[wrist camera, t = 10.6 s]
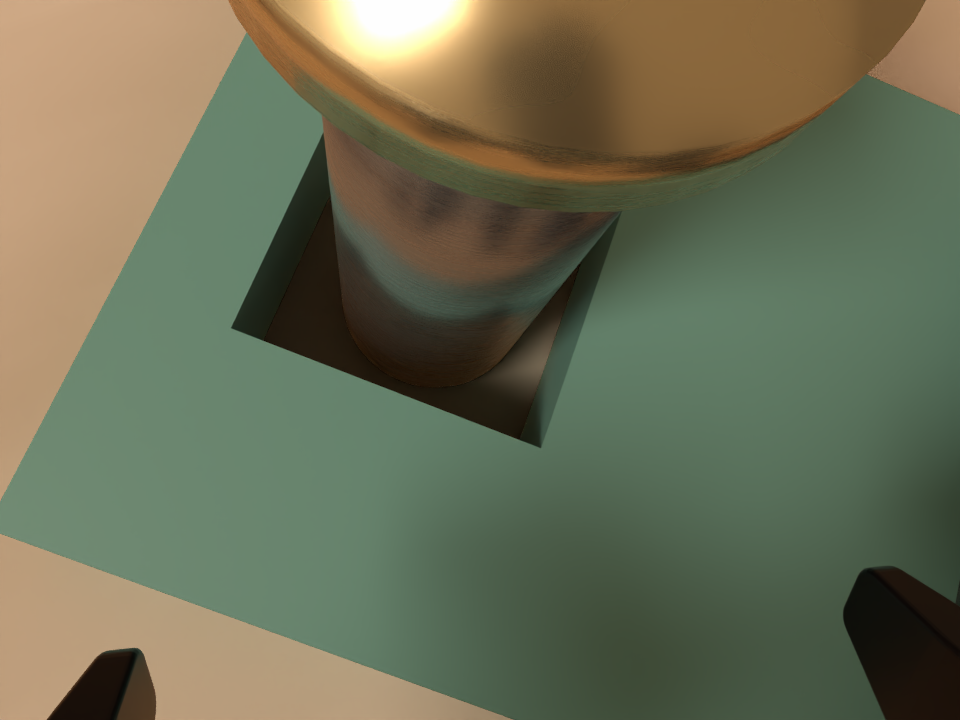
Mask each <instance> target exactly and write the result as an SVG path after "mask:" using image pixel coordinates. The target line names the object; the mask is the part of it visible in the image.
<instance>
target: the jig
mask: <svg viewBox="0 0 960 720" xmlns="http://www.w3.org/2000/svg"><path fill="white" fill-rule="evenodd" d="M329 196H330V185H329V176H328V167H327V158H326V149H325V140H324V130H323V121H322V115H321V114H320V113H319V112H318V111H317V110H315V109H314V108H313V107H312V106H311V105H310V104H308V103H307V102H306V101H305V100H304V99H303V98H301V97H300V96H299V95H298V94H297V93H296V92H295V91H294V90H293V89H292V88H291V86H290V85H289V84H288V83H287V82H286V81H285V80H284V79H283V78H282V76H281V75H280V74H279V73H278V72H277V71H276V70H275V69H274V68H273V67H272V65H271V64H270V63H269V62H268V61H267V60H266V59H265V58H264V56H263V55H262V54H261V52H260V51H259V49H258V48H257V46H256V45H255V43H254V42H253V40H252V39H251V37H250V36H249V35H248V33H246V35H245V37H244V39H243V41H242V42H241V44H240V46H239V48H238V50H237V52H236V54H235V56H234V58H233V60H232V61H231V63H230V65H229V67H228V69H227V71H226V73H225V75H224V77H223V79H222V81H221V82H220V84H219V86H218V88H217V90H216V92H215V94H214V96H213V98H212V100H211V101H210V103H209V105H208V107H207V109H206V111H205V113H204V115H203V117H202V119H201V120H200V122H199V124H198V126H197V128H196V130H195V132H194V134H193V136H192V138H191V139H190V141H189V143H188V145H187V147H186V149H185V151H184V153H183V155H182V157H181V159H180V160H179V162H178V164H177V166H176V168H175V170H174V172H173V174H172V176H171V178H170V179H169V181H168V183H167V185H166V187H165V189H164V191H163V193H162V195H161V197H160V198H159V200H158V202H157V204H156V206H155V208H154V210H153V212H152V214H151V216H150V218H149V219H148V221H147V223H146V225H145V227H144V229H143V231H142V233H141V235H140V237H139V238H138V240H137V242H136V244H135V246H134V248H133V250H132V252H131V254H130V256H129V257H128V259H127V261H126V263H125V265H124V267H123V269H122V271H121V273H120V275H119V276H118V278H117V280H116V282H115V284H114V286H113V288H112V290H111V292H110V294H109V296H108V297H107V299H106V301H105V303H104V305H103V307H102V309H101V311H100V313H99V315H98V316H97V318H96V320H95V322H94V324H93V326H92V328H91V330H90V332H89V334H88V335H87V337H86V339H85V341H84V343H83V345H82V347H81V349H80V351H79V353H78V355H77V356H76V358H75V360H74V362H73V364H72V366H71V368H70V370H69V372H68V374H67V375H66V377H65V379H64V381H63V383H62V385H61V387H60V389H59V391H58V393H57V394H56V396H55V398H54V400H53V402H52V404H51V406H50V408H49V410H48V412H47V413H46V415H45V417H44V419H43V421H42V423H41V425H40V427H39V429H38V431H37V433H36V434H35V436H34V438H33V440H32V442H31V444H30V446H29V448H28V450H27V452H26V453H25V455H24V457H23V459H22V461H21V463H20V465H19V467H18V469H17V471H16V472H15V474H14V476H13V478H12V480H11V482H10V484H9V486H8V488H7V490H6V492H5V493H4V495H3V497H2V499H1V501H0V534H2V535H5V536H8V537H11V538H14V539H16V540H19V541H22V542H25V543H27V544H30V545H33V546H36V547H38V548H41V549H44V550H47V551H49V552H52V553H55V554H58V555H60V556H63V557H66V558H69V559H72V560H74V561H77V562H80V563H83V564H85V565H88V566H91V567H94V568H96V569H99V570H102V571H105V572H107V573H110V574H113V575H116V576H119V577H121V578H124V579H127V580H130V581H132V582H135V583H138V584H141V585H143V586H146V587H149V588H152V589H154V590H157V591H160V592H163V593H165V594H168V595H171V596H174V597H177V598H179V599H182V600H185V601H188V602H190V603H193V604H196V605H199V606H201V607H204V608H207V609H210V610H212V611H215V612H218V613H221V614H223V615H226V616H229V617H232V618H235V619H237V620H240V621H243V622H246V623H248V624H251V625H254V626H257V627H259V628H262V629H265V630H268V631H270V632H273V633H276V634H279V635H282V636H284V637H287V638H290V639H293V640H295V641H298V642H301V643H304V644H306V645H309V646H312V647H315V648H317V649H320V650H323V651H326V652H328V653H331V654H334V655H337V656H340V657H342V658H345V659H348V660H351V661H353V662H356V663H359V664H362V665H364V666H367V667H370V668H373V669H375V670H378V671H381V672H384V673H387V674H389V675H392V676H395V677H398V678H400V679H403V680H406V681H409V682H411V683H414V684H417V685H420V686H422V687H425V688H428V689H431V690H433V691H436V692H439V693H442V694H445V695H447V696H450V697H453V698H456V699H458V700H461V701H464V702H467V703H469V704H472V705H475V706H478V707H480V708H483V709H486V710H489V711H492V712H494V713H497V714H500V715H503V716H505V717H508V718H511V719H514V720H885V718H884V715H883V713H882V711H881V709H880V706H879V704H878V702H877V699H876V697H875V695H874V692H873V690H872V688H871V686H870V683H869V681H868V679H867V676H866V674H865V672H864V670H863V667H862V665H861V663H860V660H859V658H858V656H857V653H856V651H855V649H854V647H853V644H852V642H851V640H850V637H849V635H848V633H847V630H846V628H845V625H844V621H843V608H844V605H845V603H846V601H847V598H848V596H849V594H850V592H851V589H852V587H853V585H854V583H855V581H856V578H857V576H858V574H859V573H860V571H862V570H863V569H865V568H868V567H877V566H895V567H897V568H899V569H901V570H903V571H905V572H906V573H908V574H909V575H911V576H913V577H914V578H916V579H917V580H919V581H920V582H922V583H924V584H925V585H927V586H928V587H930V588H932V589H933V590H935V591H936V592H938V593H940V594H941V595H943V596H944V597H946V598H948V599H949V600H951V601H952V602H954V603H956V604H957V605H959V606H960V115H959V114H956V113H954V112H952V111H950V110H947V109H945V108H943V107H940V106H938V105H936V104H933V103H931V102H929V101H926V100H924V99H922V98H920V97H917V96H915V95H913V94H910V93H908V92H906V91H903V90H901V89H899V88H897V87H894V86H892V85H890V84H887V83H885V82H883V81H880V80H878V79H876V78H873V77H871V76H869V75H867V74H866V75H865V76H863V77H862V78H861V79H860V80H859V81H858V82H857V83H856V84H855V85H854V86H852V87H851V88H850V89H849V90H848V91H847V92H846V93H845V94H844V95H843V96H841V97H840V98H839V99H838V100H837V101H836V102H835V103H834V104H833V105H831V106H830V107H829V108H828V109H827V110H826V111H825V112H824V113H823V114H822V115H820V116H819V117H818V118H817V119H816V120H815V121H814V122H813V123H812V124H811V125H809V126H808V127H807V128H806V129H805V130H804V131H803V132H802V133H800V134H799V135H798V136H797V137H796V138H795V139H794V140H793V141H792V142H790V143H789V144H788V145H787V146H786V147H785V148H784V149H783V150H781V151H780V152H779V153H778V154H776V155H775V156H773V157H772V158H770V159H769V160H767V161H765V162H764V163H762V164H761V165H759V166H758V167H756V168H755V169H753V170H751V171H750V172H748V173H747V174H745V175H743V176H741V177H739V178H737V179H735V180H732V181H730V182H728V183H726V184H724V185H721V186H719V187H717V188H715V189H712V190H710V191H708V192H706V193H702V194H699V195H695V196H692V197H689V198H685V199H682V200H678V201H675V202H671V203H668V204H665V205H659V206H652V207H645V208H639V209H632V210H625V211H621V212H620V214H619V215H618V216H617V217H616V219H615V220H614V221H613V222H612V223H611V225H610V226H609V227H608V228H607V230H606V231H605V232H604V233H603V235H602V236H601V237H600V238H599V240H598V241H597V242H596V243H595V245H594V246H593V247H592V248H591V250H590V251H589V252H588V253H587V255H586V256H585V257H584V258H583V259H582V262H581V265H580V268H579V271H578V274H577V277H576V279H575V282H574V285H573V288H572V291H571V294H570V297H569V299H568V302H567V305H566V308H565V311H564V314H563V317H562V319H561V322H560V325H559V328H558V331H557V334H556V337H555V340H554V342H553V345H552V348H551V351H550V354H549V357H548V360H547V362H546V365H545V368H544V371H543V374H542V377H541V380H540V382H539V385H538V388H537V391H536V394H535V397H534V400H533V402H532V405H531V408H530V411H529V414H528V417H527V420H526V423H525V425H524V428H523V431H522V434H521V437H520V440H518V439H516V438H513V437H510V436H508V435H505V434H503V433H500V432H497V431H495V430H492V429H490V428H487V427H485V426H482V425H479V424H477V423H474V422H472V421H469V420H466V419H464V418H461V417H459V416H456V415H454V414H451V413H448V412H446V411H443V410H441V409H438V408H435V407H433V406H430V405H428V404H425V403H423V402H420V401H417V400H415V399H412V398H410V397H407V396H404V395H402V394H399V393H397V392H394V391H392V390H389V389H386V388H384V387H381V386H379V385H376V384H374V383H371V382H368V381H366V380H363V379H361V378H358V377H355V376H353V375H350V374H348V373H345V372H343V371H340V370H337V369H335V368H332V367H330V366H327V365H324V364H322V363H319V362H317V361H314V360H312V359H309V358H306V357H304V356H301V355H299V354H296V353H293V352H291V351H288V350H286V349H283V348H281V347H278V346H275V345H273V344H270V343H268V342H265V341H263V340H264V338H265V335H266V333H267V331H268V329H269V327H270V325H271V322H272V320H273V318H274V316H275V314H276V311H277V309H278V307H279V305H280V303H281V301H282V298H283V296H284V294H285V292H286V290H287V287H288V285H289V283H290V281H291V279H292V277H293V274H294V272H295V270H296V268H297V266H298V263H299V261H300V259H301V257H302V255H303V253H304V250H305V248H306V246H307V244H308V242H309V239H310V237H311V235H312V233H313V231H314V229H315V226H316V224H317V222H318V220H319V218H320V215H321V213H322V211H323V209H324V207H325V205H326V202H327V200H328V198H329Z"/></svg>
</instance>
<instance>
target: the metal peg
mask: <svg viewBox="0 0 960 720" xmlns="http://www.w3.org/2000/svg"><path fill="white" fill-rule="evenodd" d="M228 1H229V3H230V5H231V7H232V9H233V11H234V13H235V15H236V17H237V19H238V20H239V21H240V23H241V24H242V26H243V27H244V29H245V30H246V32H247V33H248V35H249V36H250V37H251V39H252V40H253V42H254V43H255V45H256V46H257V48H258V49H259V51H260V52H261V54H262V55H263V56H264V58H265V59H266V60H267V61H268V62H269V63H270V64H271V65H272V67H273V68H274V69H275V70H276V71H277V72H278V73H279V74H280V75H281V76H282V78H283V79H284V80H285V81H286V82H287V83H288V84H289V85H290V86H291V88H292V89H293V90H294V91H295V92H296V93H297V94H298V95H299V96H300V97H301V98H303V99H304V100H305V101H306V102H307V103H308V104H310V105H311V106H312V107H313V108H314V109H315V110H317V111H318V112H319V113H320V114H321V115H322V121H323V130H324V140H325V149H326V158H327V167H328V176H329V185H330V194H331V203H332V212H333V221H334V231H335V240H336V249H337V258H338V267H339V276H340V285H341V294H342V303H343V310H344V316H345V320H346V323H347V326H348V329H349V332H350V334H351V336H352V338H353V340H354V342H355V343H356V345H357V346H358V348H359V349H360V350H361V352H362V353H363V354H364V355H365V356H366V357H367V359H368V360H369V361H371V362H372V363H373V364H374V365H375V366H376V367H377V368H379V369H380V370H382V371H383V372H385V373H386V374H388V375H390V376H392V377H394V378H396V379H398V380H400V381H403V382H406V383H409V384H412V385H417V386H422V387H433V388H438V387H450V386H455V385H460V384H463V383H466V382H469V381H471V380H473V379H476V378H478V377H480V376H482V375H483V374H485V373H486V372H488V371H489V370H491V369H492V368H493V367H494V366H495V365H496V364H498V363H499V362H500V361H501V359H502V358H503V357H504V356H505V355H506V354H507V353H508V351H509V350H510V349H511V348H512V346H513V345H514V344H515V343H516V341H517V340H518V339H519V338H520V336H521V335H522V334H523V333H524V331H525V330H526V329H527V328H528V326H529V325H530V324H531V323H532V321H533V320H534V319H535V318H536V317H537V315H538V314H539V313H540V312H541V310H542V309H543V308H544V307H545V305H546V304H547V303H548V302H549V300H550V299H551V298H552V297H553V295H554V294H555V293H556V292H557V290H558V289H559V288H560V287H561V286H562V284H563V283H564V282H565V281H566V279H567V278H568V277H569V276H570V274H571V273H572V272H573V271H574V269H575V268H576V267H577V266H578V264H579V263H580V262H581V261H582V259H583V258H584V257H585V256H586V255H587V253H588V252H589V251H590V250H591V248H592V247H593V246H594V245H595V243H596V242H597V241H598V240H599V238H600V237H601V236H602V235H603V233H604V232H605V231H606V230H607V228H608V227H609V226H610V225H611V223H612V222H613V221H614V220H615V219H616V217H617V216H618V215H619V214H620V212H621V211H625V210H632V209H639V208H645V207H652V206H659V205H665V204H668V203H671V202H675V201H678V200H682V199H685V198H689V197H692V196H695V195H699V194H702V193H706V192H708V191H710V190H712V189H715V188H717V187H719V186H721V185H724V184H726V183H728V182H730V181H732V180H735V179H737V178H739V177H741V176H743V175H745V174H747V173H748V172H750V171H751V170H753V169H755V168H756V167H758V166H759V165H761V164H762V163H764V162H765V161H767V160H769V159H770V158H772V157H773V156H775V155H776V154H778V153H779V152H780V151H781V150H783V149H784V148H785V147H786V146H787V145H788V144H789V143H790V142H792V141H793V140H794V139H795V138H796V137H797V136H798V135H799V134H800V133H802V132H803V131H804V130H805V129H806V128H807V127H808V126H809V125H811V124H812V123H813V122H814V121H815V120H816V119H817V118H818V117H819V116H820V115H822V114H823V113H824V112H825V111H826V110H827V109H828V108H829V107H830V106H831V105H833V104H834V103H835V102H836V101H837V100H838V99H839V98H840V97H841V96H843V95H844V94H845V93H846V92H847V91H848V90H849V89H850V88H851V87H852V86H854V85H855V84H856V83H857V82H858V81H859V80H860V79H861V78H862V77H863V76H865V75H866V74H867V73H868V72H869V71H870V70H871V69H872V68H873V67H874V66H876V65H877V64H878V63H879V62H880V61H881V60H882V59H883V58H884V57H886V56H887V54H888V53H889V52H890V51H891V50H892V48H893V47H894V46H895V45H896V43H897V42H898V41H899V40H900V38H901V37H902V36H903V35H904V33H905V32H906V31H907V30H908V28H909V27H910V26H911V25H912V23H913V22H914V20H915V19H916V17H917V15H918V13H919V11H920V10H921V8H922V6H923V4H924V3H925V1H926V0H228Z"/></svg>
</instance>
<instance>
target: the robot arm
mask: <svg viewBox="0 0 960 720" xmlns="http://www.w3.org/2000/svg"><path fill="white" fill-rule="evenodd" d="M843 621H844V625H845V628H846V630H847V633H848V635H849V637H850V640H851V642H852V644H853V647H854V649H855V651H856V653H857V656H858V658H859V660H860V663H861V665H862V667H863V670H864V672H865V674H866V676H867V679H868V681H869V683H870V686H871V688H872V690H873V692H874V695H875V697H876V699H877V702H878V704H879V706H880V709H881V711H882V713H883V715H884V718H885V720H960V606H959V605H957V604H956V603H954V602H952V601H951V600H949V599H948V598H946V597H944V596H943V595H941V594H940V593H938V592H936V591H935V590H933V589H932V588H930V587H928V586H927V585H925V584H924V583H922V582H920V581H919V580H917V579H916V578H914V577H913V576H911V575H909V574H908V573H906V572H905V571H903V570H901V569H899V568H897V567H895V566H877V567H868V568H865V569H863V570H862V571H860V573H859V574H858V576H857V578H856V581H855V583H854V585H853V587H852V589H851V592H850V594H849V596H848V598H847V601H846V603H845V605H844V608H843ZM155 714H156V695H155V689H154V686H153V683H152V680H151V676H150V673H149V670H148V667H147V664H146V660H145V657H144V655H143V653H142V651H141V650H140V649H138V648H128V649H119V650H110V651H106V652H103V653H101V654H100V655H99V656H97V657H96V659H95V660H94V661H93V662H92V663H91V665H90V666H89V667H88V668H87V670H86V671H85V672H84V673H83V675H82V676H81V677H80V678H79V680H78V681H77V682H76V683H75V685H74V686H73V687H72V688H71V690H70V691H69V692H68V693H67V695H66V696H65V697H64V698H63V700H62V701H61V702H60V703H59V705H58V706H57V707H56V708H55V710H54V711H53V712H52V714H51V715H50V716H49V717H48V719H47V720H155Z"/></svg>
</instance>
